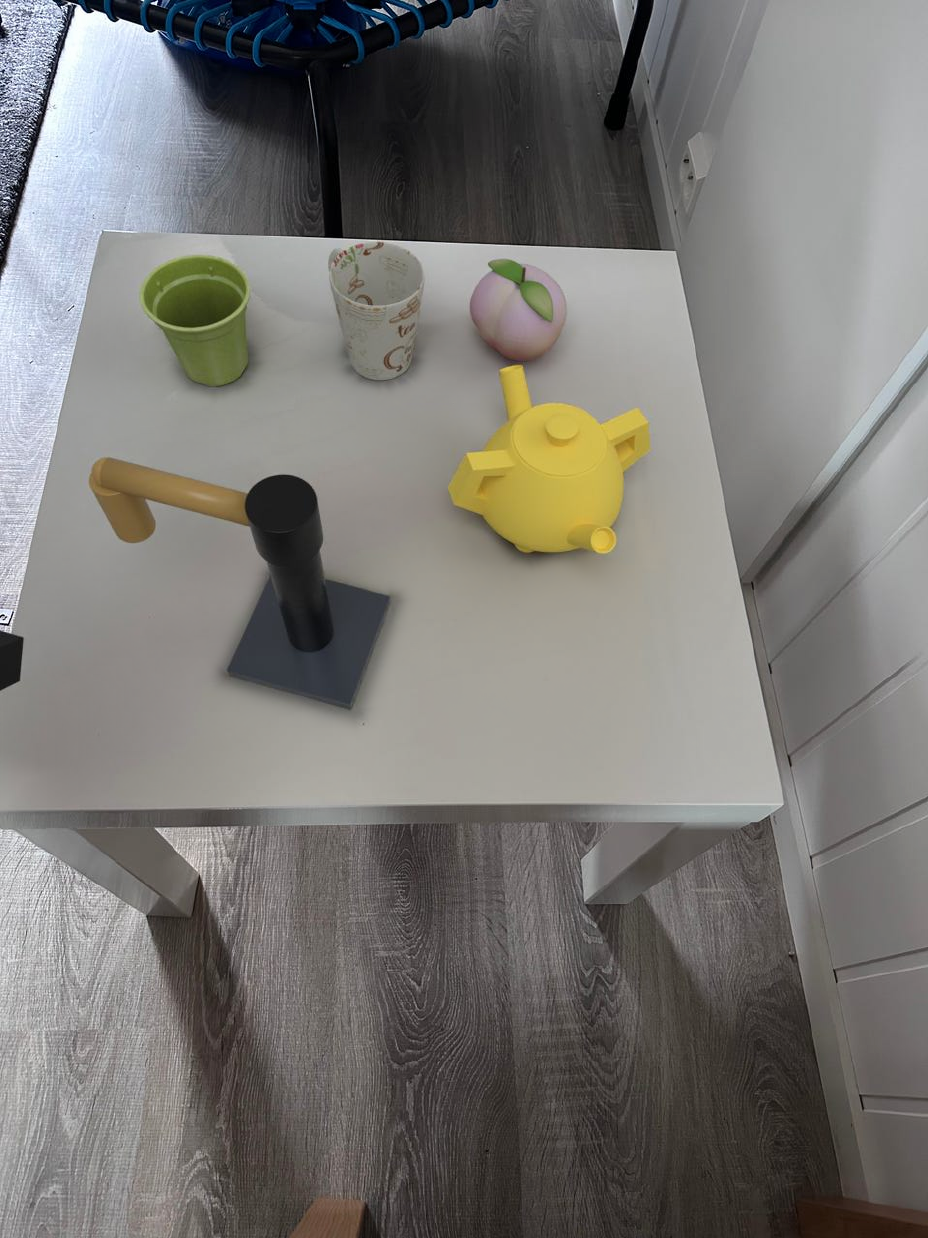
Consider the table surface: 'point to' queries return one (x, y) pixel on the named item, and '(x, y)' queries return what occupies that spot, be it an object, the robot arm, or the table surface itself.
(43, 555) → the table surface
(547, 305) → the decorative fruit
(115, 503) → the spout
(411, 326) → the mug
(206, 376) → the plant pot
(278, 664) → the square base plate
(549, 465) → the teapot
